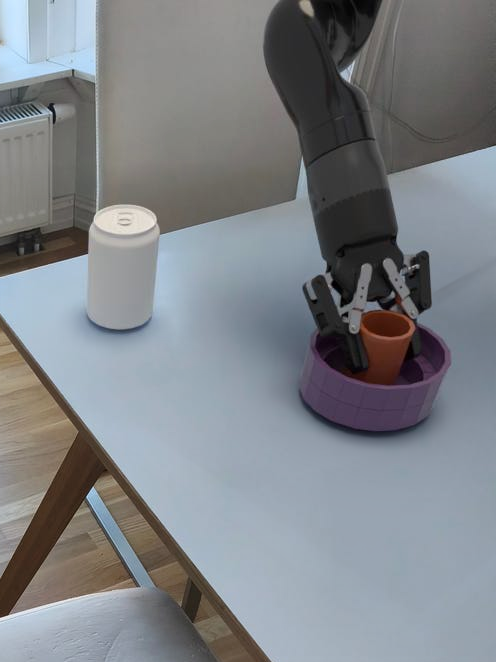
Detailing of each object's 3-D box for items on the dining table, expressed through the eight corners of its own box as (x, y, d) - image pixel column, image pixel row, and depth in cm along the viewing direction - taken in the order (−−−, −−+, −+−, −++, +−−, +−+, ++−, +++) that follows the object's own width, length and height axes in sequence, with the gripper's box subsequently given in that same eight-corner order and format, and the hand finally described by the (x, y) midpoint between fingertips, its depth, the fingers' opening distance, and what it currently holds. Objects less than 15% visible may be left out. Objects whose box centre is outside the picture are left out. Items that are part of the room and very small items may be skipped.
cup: (330, 378, 98) (349, 312, 92) (379, 372, 98) (401, 306, 92) (349, 408, 94) (370, 342, 88) (400, 402, 95) (424, 336, 89)
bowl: (352, 345, 103) (366, 297, 99) (458, 400, 96) (479, 352, 91) (271, 393, 98) (281, 345, 93) (376, 455, 91) (394, 406, 86)
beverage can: (83, 332, 107) (86, 235, 98) (89, 297, 112) (92, 201, 103) (150, 335, 106) (159, 237, 97) (153, 299, 111) (162, 203, 102)
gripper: (309, 199, 85) (348, 373, 87) (434, 172, 88) (469, 341, 90) (270, 230, 92) (306, 389, 94) (387, 204, 95) (420, 359, 97)
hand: (385, 365), depth 92 cm, fingers closed on cup, 5 cm apart
